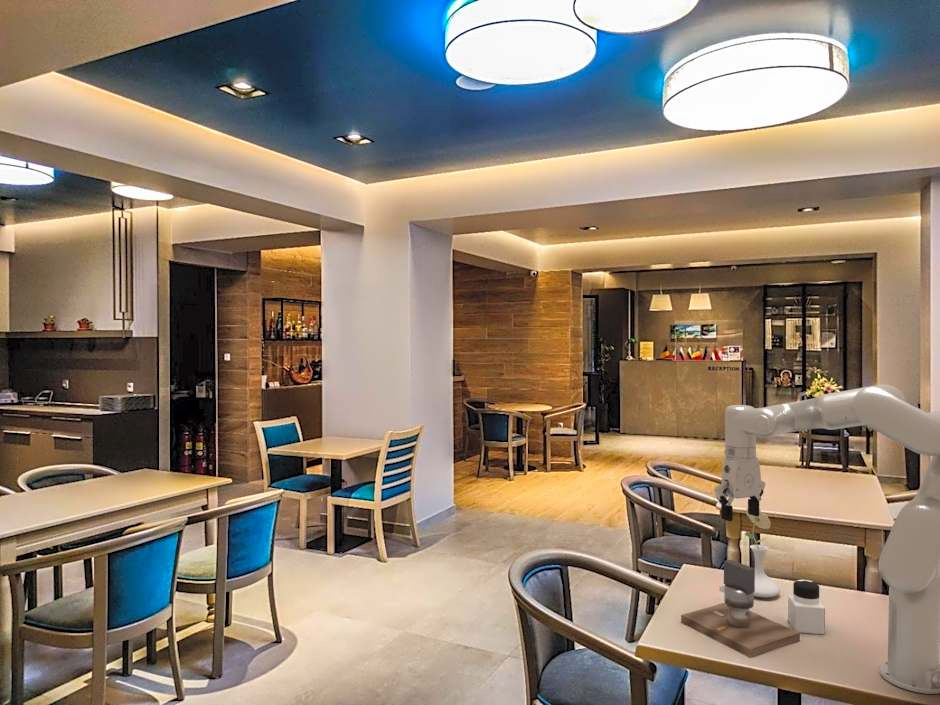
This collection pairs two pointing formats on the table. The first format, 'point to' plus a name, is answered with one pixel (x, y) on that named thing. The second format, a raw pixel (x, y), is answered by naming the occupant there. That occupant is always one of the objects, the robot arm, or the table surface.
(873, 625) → the table surface
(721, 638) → the brown wooden board
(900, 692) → the table surface
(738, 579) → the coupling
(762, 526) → the flower in vase
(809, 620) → the medicine bottle
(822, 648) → the table surface
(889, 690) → the table surface
